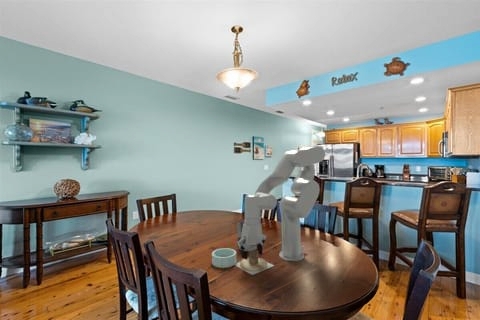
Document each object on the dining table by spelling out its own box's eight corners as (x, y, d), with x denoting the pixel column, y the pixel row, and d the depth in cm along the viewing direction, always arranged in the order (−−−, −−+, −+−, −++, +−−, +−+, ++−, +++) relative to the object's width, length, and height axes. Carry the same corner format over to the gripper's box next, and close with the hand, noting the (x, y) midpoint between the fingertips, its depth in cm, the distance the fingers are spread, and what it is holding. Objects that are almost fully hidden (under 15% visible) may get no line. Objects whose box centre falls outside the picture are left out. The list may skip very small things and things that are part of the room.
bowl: (227, 255, 128) (226, 246, 128) (241, 263, 118) (240, 253, 118) (207, 262, 120) (207, 252, 120) (220, 270, 111) (220, 260, 111)
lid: (254, 257, 124) (254, 243, 124) (272, 265, 114) (272, 250, 114) (234, 264, 116) (234, 249, 116) (252, 274, 106) (252, 258, 106)
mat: (254, 257, 125) (254, 256, 125) (274, 266, 114) (274, 265, 114) (233, 265, 116) (233, 264, 116) (252, 275, 105) (252, 274, 105)
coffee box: (256, 248, 137) (256, 220, 137) (251, 252, 131) (251, 223, 131) (243, 246, 141) (242, 218, 141) (237, 249, 136) (236, 221, 136)
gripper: (260, 216, 123) (260, 249, 123) (233, 221, 113) (233, 258, 113) (270, 219, 117) (270, 254, 117) (243, 225, 107) (243, 263, 107)
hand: (252, 256), depth 115 cm, fingers open, 9 cm apart
